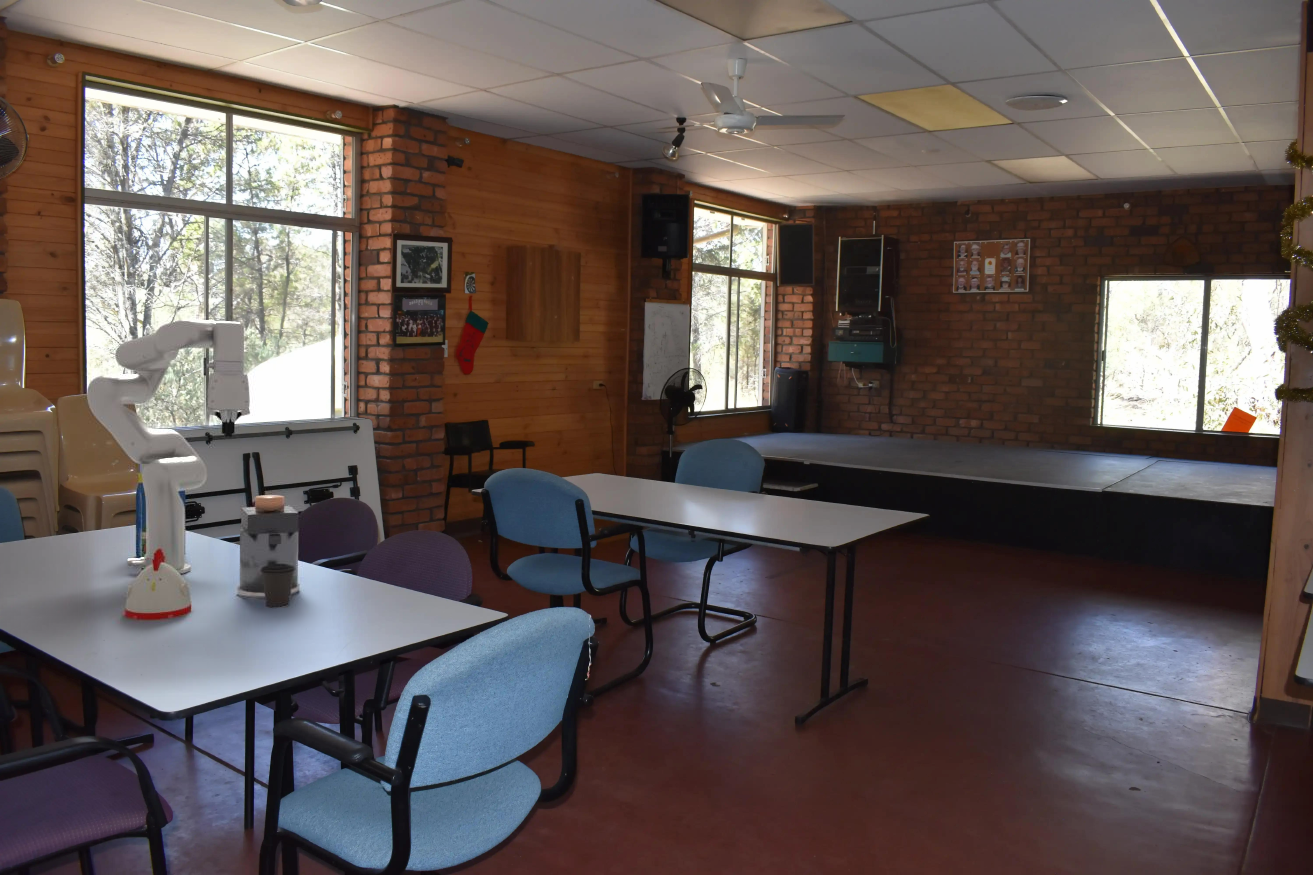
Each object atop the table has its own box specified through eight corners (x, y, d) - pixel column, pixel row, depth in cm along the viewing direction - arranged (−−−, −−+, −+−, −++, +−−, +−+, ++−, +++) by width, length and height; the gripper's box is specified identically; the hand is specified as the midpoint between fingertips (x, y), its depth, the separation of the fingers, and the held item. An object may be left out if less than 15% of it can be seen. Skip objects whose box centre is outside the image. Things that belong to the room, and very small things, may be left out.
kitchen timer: (117, 620, 218) (117, 555, 217) (133, 605, 231) (133, 544, 230) (184, 619, 222) (185, 555, 220) (196, 604, 235) (196, 543, 234)
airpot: (243, 604, 236) (243, 517, 234) (233, 588, 252) (234, 506, 250) (306, 598, 244) (307, 515, 242) (294, 583, 259) (295, 504, 258)
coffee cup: (282, 610, 232) (283, 569, 231) (253, 607, 234) (253, 566, 233) (301, 602, 240) (302, 562, 239) (272, 599, 242) (273, 560, 241)
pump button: (257, 528, 243) (257, 499, 242) (253, 524, 249) (253, 495, 248) (286, 527, 246) (286, 498, 246) (281, 522, 252) (281, 494, 252)
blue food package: (135, 556, 285) (135, 472, 283) (178, 551, 293) (179, 470, 291) (141, 559, 280) (141, 474, 279) (185, 555, 289) (185, 473, 287)
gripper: (199, 367, 249) (198, 437, 250) (260, 369, 257) (260, 437, 258) (196, 366, 255) (196, 435, 257) (256, 368, 263) (255, 435, 264)
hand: (228, 436), depth 257 cm, fingers closed
